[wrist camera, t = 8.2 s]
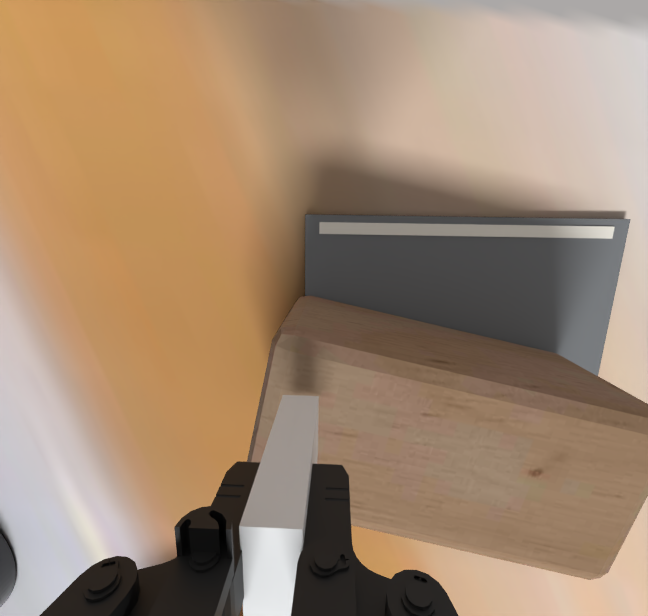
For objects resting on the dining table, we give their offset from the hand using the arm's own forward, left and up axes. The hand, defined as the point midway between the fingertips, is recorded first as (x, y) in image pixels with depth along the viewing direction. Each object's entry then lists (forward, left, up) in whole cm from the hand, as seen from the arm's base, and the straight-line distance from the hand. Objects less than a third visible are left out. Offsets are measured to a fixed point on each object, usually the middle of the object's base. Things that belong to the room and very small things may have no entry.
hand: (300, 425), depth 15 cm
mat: (+10, +1, -12) cm, 16 cm away
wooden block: (-3, -1, -7) cm, 7 cm away
